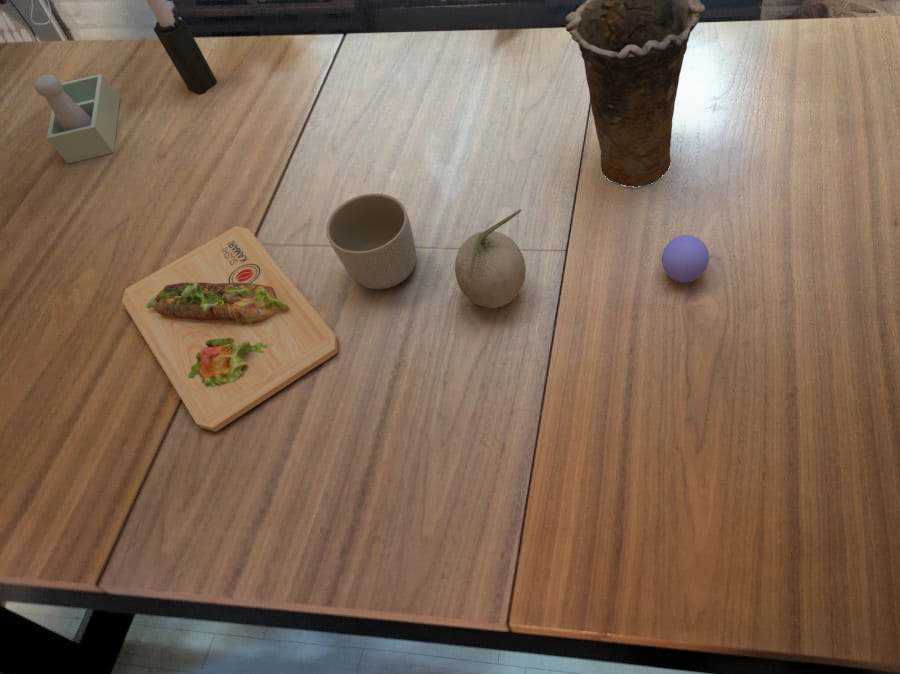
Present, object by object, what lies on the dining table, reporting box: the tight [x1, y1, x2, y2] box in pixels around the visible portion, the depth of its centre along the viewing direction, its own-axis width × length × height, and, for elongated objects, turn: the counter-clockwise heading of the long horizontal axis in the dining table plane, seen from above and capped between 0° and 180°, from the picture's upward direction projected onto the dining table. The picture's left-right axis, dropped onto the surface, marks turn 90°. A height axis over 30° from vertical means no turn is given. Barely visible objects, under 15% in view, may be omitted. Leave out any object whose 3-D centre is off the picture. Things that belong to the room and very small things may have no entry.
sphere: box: [661, 234, 710, 283], centre depth 106 cm, size 7×7×7 cm
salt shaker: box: [33, 73, 92, 132], centre depth 134 cm, size 6×6×13 cm
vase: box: [564, 0, 706, 187], centre depth 112 cm, size 18×18×27 cm
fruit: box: [454, 208, 527, 309], centre depth 104 cm, size 10×12×15 cm
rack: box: [46, 73, 121, 165], centre depth 140 cm, size 9×17×6 cm, turn 14°
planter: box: [325, 192, 417, 290], centre depth 111 cm, size 12×12×11 cm
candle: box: [145, 0, 218, 95], centre depth 136 cm, size 5×5×25 cm
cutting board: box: [121, 225, 339, 433], centre depth 109 cm, size 35×23×8 cm
